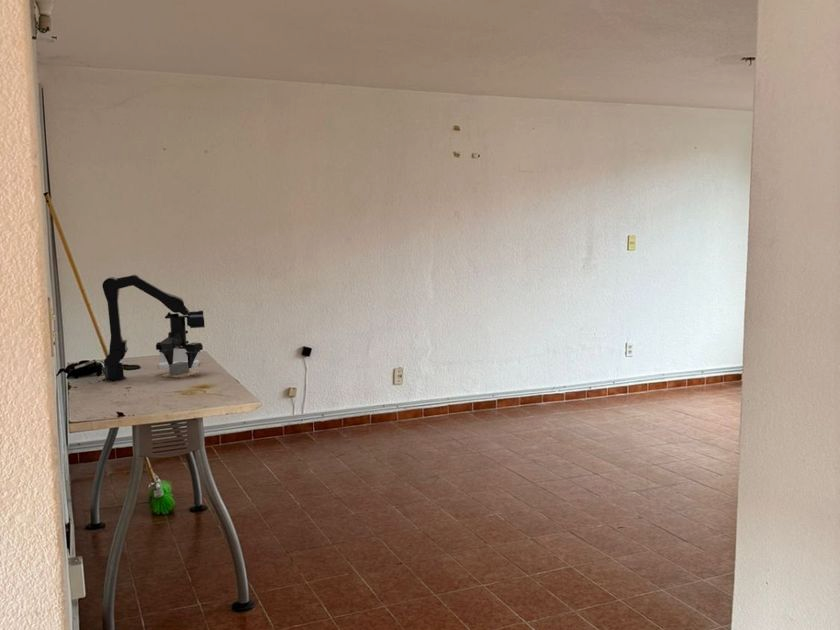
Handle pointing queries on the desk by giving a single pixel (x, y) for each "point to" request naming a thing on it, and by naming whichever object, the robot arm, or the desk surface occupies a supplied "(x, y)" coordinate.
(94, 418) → the desk surface
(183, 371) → the plug
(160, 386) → the desk surface
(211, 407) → the desk surface
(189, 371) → the coaster
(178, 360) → the hinge
